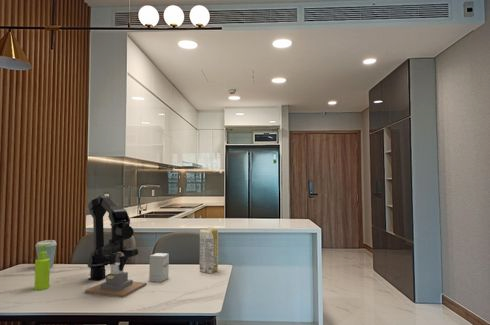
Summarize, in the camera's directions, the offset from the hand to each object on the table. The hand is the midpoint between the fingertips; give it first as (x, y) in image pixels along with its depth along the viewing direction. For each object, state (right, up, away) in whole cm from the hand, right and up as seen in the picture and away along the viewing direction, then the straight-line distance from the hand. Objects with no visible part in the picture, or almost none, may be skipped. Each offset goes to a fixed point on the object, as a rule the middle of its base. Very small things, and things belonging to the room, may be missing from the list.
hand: (117, 270), depth 162 cm
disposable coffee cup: (-54, -10, +38) cm, 67 cm away
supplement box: (+16, -10, +15) cm, 24 cm away
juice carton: (+39, -10, +31) cm, 51 cm away
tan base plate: (0, -9, 0) cm, 8 cm away
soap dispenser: (-35, -9, +1) cm, 36 cm away
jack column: (0, -7, 0) cm, 7 cm away
